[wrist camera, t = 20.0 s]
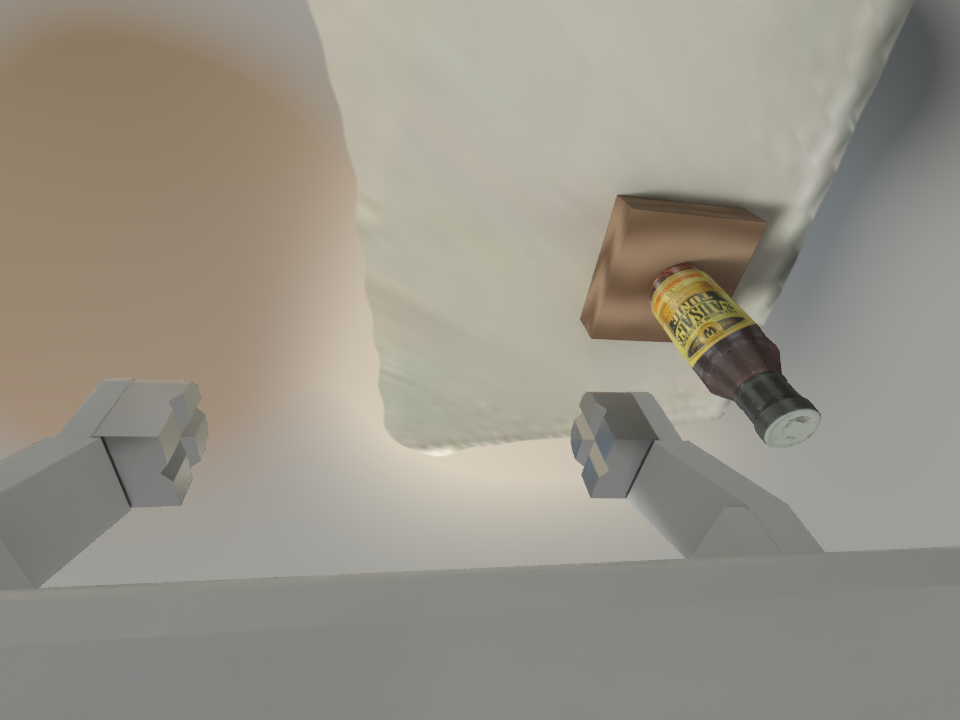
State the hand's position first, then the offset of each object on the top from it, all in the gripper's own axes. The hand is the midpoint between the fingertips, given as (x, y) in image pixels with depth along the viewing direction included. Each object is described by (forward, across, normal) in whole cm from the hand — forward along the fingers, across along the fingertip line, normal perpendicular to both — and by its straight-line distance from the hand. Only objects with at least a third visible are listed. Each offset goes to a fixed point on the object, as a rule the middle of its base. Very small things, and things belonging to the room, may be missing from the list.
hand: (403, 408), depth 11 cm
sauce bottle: (+33, -28, +13) cm, 45 cm away
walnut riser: (+37, -28, +12) cm, 48 cm away
